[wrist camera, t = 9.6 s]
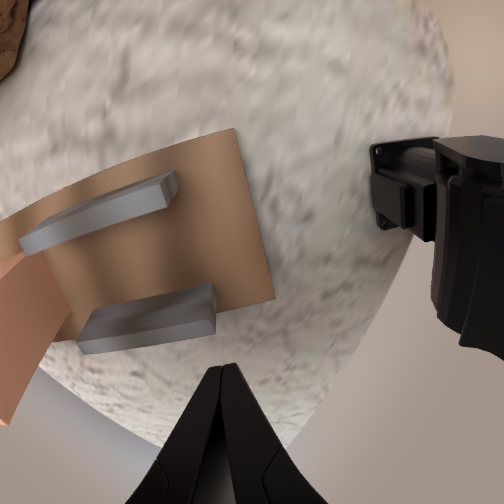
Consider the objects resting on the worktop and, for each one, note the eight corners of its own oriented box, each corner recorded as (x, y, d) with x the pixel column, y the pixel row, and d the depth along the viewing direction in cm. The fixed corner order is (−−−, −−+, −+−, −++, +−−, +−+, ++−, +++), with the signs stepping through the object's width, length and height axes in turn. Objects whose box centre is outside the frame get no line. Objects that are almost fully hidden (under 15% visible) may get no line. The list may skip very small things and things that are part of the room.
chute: (233, 128, 17) (235, 130, 12) (273, 288, 22) (285, 335, 17) (-5, 224, 18) (-43, 251, 13) (52, 333, 23) (30, 371, 18)
